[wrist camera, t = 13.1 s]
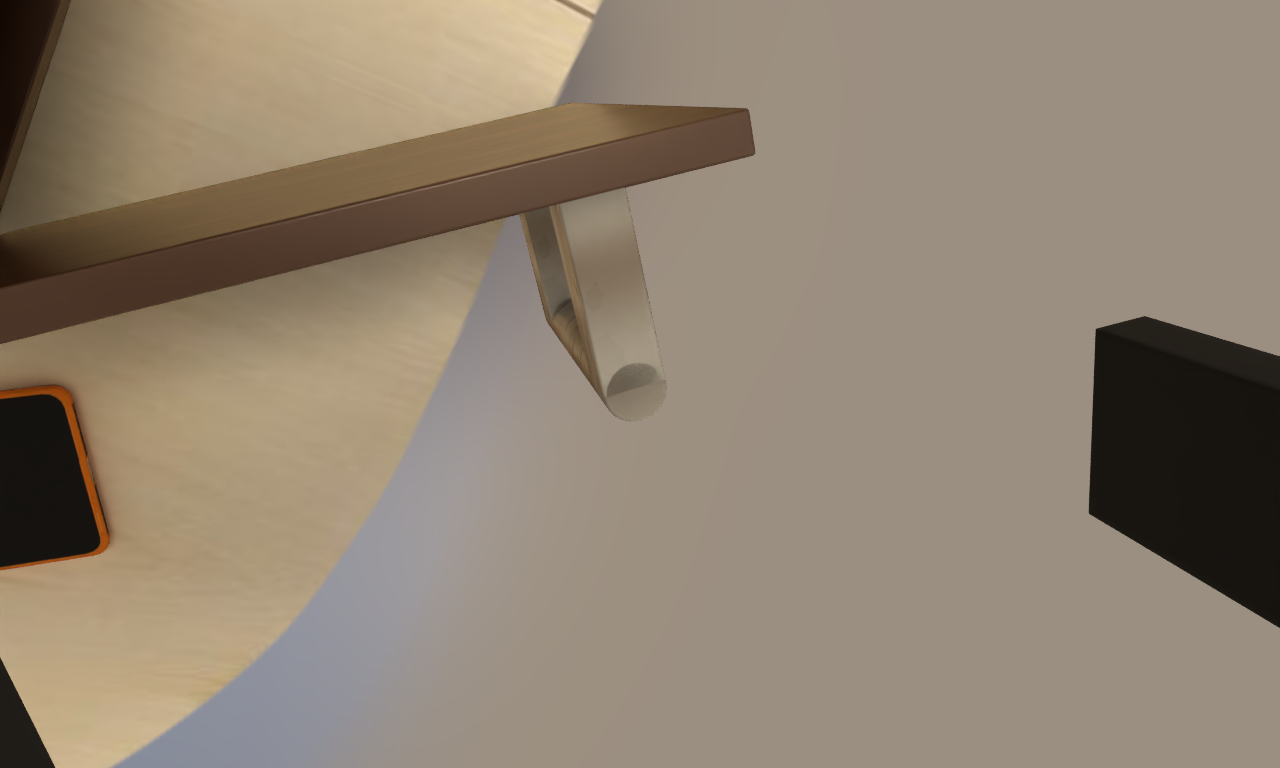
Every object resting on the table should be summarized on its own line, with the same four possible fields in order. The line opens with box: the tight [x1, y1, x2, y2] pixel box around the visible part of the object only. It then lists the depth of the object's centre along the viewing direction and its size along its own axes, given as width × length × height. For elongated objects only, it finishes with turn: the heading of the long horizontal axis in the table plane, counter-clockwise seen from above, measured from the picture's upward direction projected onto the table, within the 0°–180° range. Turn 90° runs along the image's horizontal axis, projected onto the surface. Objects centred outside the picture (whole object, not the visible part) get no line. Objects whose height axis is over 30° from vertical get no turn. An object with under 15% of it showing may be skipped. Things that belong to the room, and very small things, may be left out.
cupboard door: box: [0, 103, 755, 421], centre depth 27 cm, size 8×22×20 cm, turn 102°
